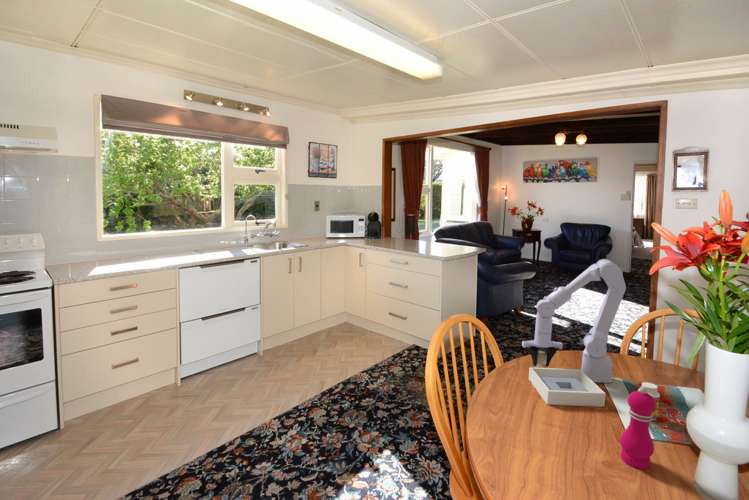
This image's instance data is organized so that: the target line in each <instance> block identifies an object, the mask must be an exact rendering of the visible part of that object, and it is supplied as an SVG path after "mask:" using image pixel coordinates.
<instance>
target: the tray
mask: <svg viewBox="0 0 749 500" xmlns="http://www.w3.org/2000/svg"><path fill="white" fill-rule="evenodd" d="M528 370H529V371H528V381H531V382H530V384H532V386H533V388H536V389H535V390H536V391H537V393H538V394H539V395H540V397H541V398H542V399H543V401H544V403H545V404H546V405H554V406H578V407H579V406H580V407H605V404H606V403H605V402H606V395H607V394H606V392H605V391H604V390H602V388H601V387H600V386H599V385H597V384H596V382H593V381H592V380H591V379H590V378H589V377H588V376H587V375H585V374H584V373H583V372H582V371H581V369H580V368H557V367H556V368H555V367H546V368H535V367H529V368H528ZM541 377H553V378H576V379H577V380H578V381H579V382H580V383H581V384H582V385H583V386H584V387H585V388H586V389H587V390H588V391H589V392H584V391H557V390H549V389H548V387H547V386H546V385H545V384H544V382H543V381H542V380H541ZM561 389H570V388H561Z"/></svg>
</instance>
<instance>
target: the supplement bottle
mask: <svg viewBox="0 0 749 500" xmlns="http://www.w3.org/2000/svg"><path fill="white" fill-rule="evenodd" d="M640 387H645V388H646V389H647V393H648V394H650V395H651V396H652V397H653V398H654V399H655V401H656V410H655V411H654V412H653V413H652V414H653V416H652V421H651V422H653V421H656V420H657V419H658V412H659V406H660V397H661V394H660V392H658V385H656V384H654V383H652V382H646V381H645V382H644V381H643V382H642V383H641V386H640ZM637 391H639V388H638V389H637Z"/></svg>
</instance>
